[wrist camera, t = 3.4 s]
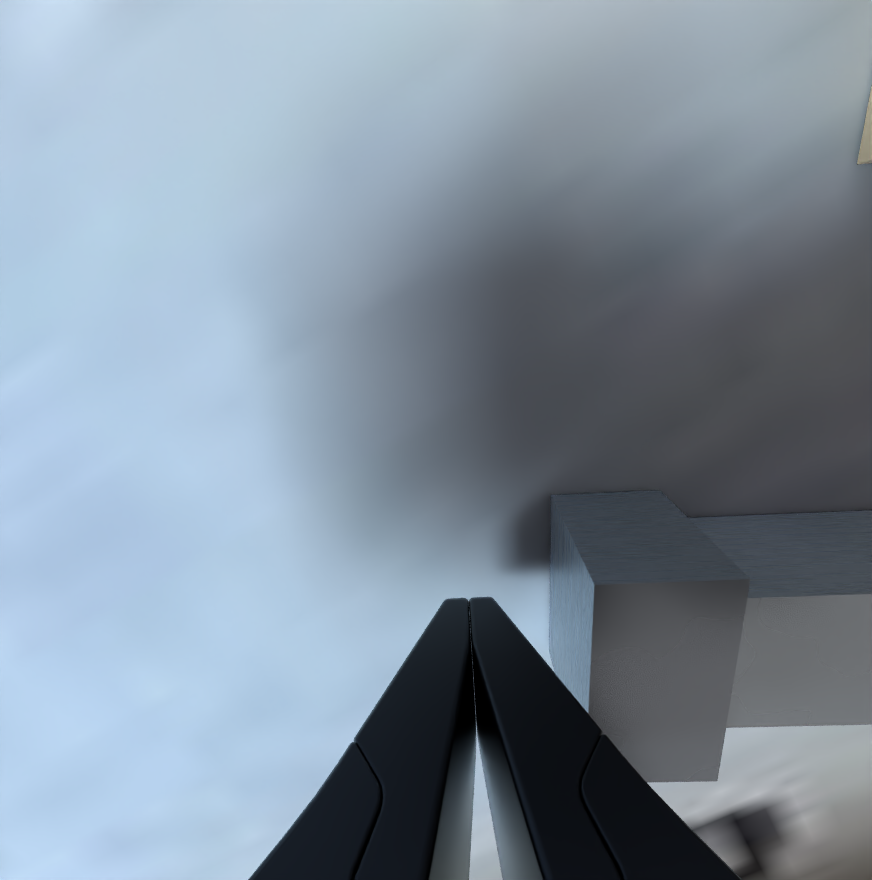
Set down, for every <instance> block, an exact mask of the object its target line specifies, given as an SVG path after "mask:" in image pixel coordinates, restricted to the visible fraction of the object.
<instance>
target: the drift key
mask: <svg viewBox="0 0 872 880" xmlns="http://www.w3.org/2000/svg"><path fill="white" fill-rule="evenodd" d="M549 653H550V656H551V660H552V664H553V667H554V671H555V674H556V675H557V676H558V678H559V679H560V680H561V681H562V682H563V684H564V685H565V686H566V687H567V688H568V690H569V691H570V692H571V693H572V694H573V696H574V697H575V698H576V699H577V701H578V702H579V703H580V704H581V705H582V707H583V708H584V709H585V710H586V711H587V713H588V714H589V715H590V716H591V717H592V719H593V720H594V721H595V722H596V724H597V725H598V726H599V727H600V728H601V730H602V731H603V734H604V735H607V736H608V738H609V739H610V740H611V741H612V743H613V744H614V745H615V746H616V747H617V749H618V750H619V751H620V752H621V754H622V755H623V756H624V757H625V758H626V759H627V761H628V762H629V763H630V764H631V765H632V766H633V768H634V769H635V770H636V771H637V772H638V773H639V774H640V776H641V777H642V778H643V779H644V780H645V781H646V782H694V781H717V779H718V773H719V767H720V761H721V755H722V749H723V743H724V737H725V731H726V728H733V727H778V726H823V725H867V724H872V510H866V511H842V512H818V513H794V514H770V515H747V516H723V517H699V518H688V517H687V516H686V515H685V514H684V513H683V512H682V511H681V510H680V509H679V508H678V507H677V506H676V505H675V504H674V503H673V502H672V501H670V500H669V499H668V498H667V497H666V496H665V495H664V494H663V493H662V492H661V491H660V490H654V491H632V492H609V493H587V494H564V495H551V550H550V621H549Z"/></svg>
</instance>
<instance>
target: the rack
mask: <svg viewBox="0 0 872 880" xmlns="http://www.w3.org/2000/svg"><path fill="white" fill-rule="evenodd" d="M869 163H872V87H871V92H870V97H869V103H868V108H867V113H866V119H865V124H864V129H863V135H862V140H861V145H860V151H859V156H858V161H857V164H869Z"/></svg>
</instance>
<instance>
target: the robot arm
mask: <svg viewBox="0 0 872 880" xmlns="http://www.w3.org/2000/svg"><path fill="white" fill-rule="evenodd" d="M469 611H470V616H469ZM470 628H471V632H470ZM471 644H472V648H471ZM472 661H473V664H472ZM473 677H474V681H473ZM474 693H475V697H474ZM475 709H476V714H475ZM476 723H477V734H478V742H479V748H480V754H481V760H482V766H483V771H484V777H485V782H486V788H487V794H488V799H489V805H490V810H491V816H492V822H493V827H494V833H495V838H496V844H497V850H498V855H499V861H500V866H501V872H502V878H503V880H742V879H741V878H740V877H739V876H738V875H737V874H736V873H735V872H734V871H733V870H732V869H731V868H730V867H729V866H728V865H727V864H726V863H725V862H724V861H723V860H722V859H721V858H720V857H719V856H718V855H717V854H716V853H715V852H714V851H713V850H712V849H711V848H710V847H709V846H708V845H707V844H706V843H705V842H704V841H703V840H702V839H701V838H700V837H699V836H698V835H697V834H696V833H695V832H694V831H693V830H692V829H691V828H690V827H689V826H688V825H687V824H686V823H685V822H684V821H683V820H682V819H681V818H680V817H679V816H678V815H677V814H676V813H675V812H674V811H673V810H672V809H671V808H670V807H669V806H668V805H667V804H666V803H665V802H664V801H663V800H662V799H661V797H660V796H659V795H658V794H657V793H656V792H655V791H654V790H653V789H652V788H651V787H650V786H649V785H648V784H647V782H646V781H645V780H644V779H643V778H642V777H641V776H640V774H639V773H638V772H637V771H636V770H635V769H634V768H633V766H632V765H631V764H630V763H629V762H628V761H627V759H626V758H625V757H624V756H623V755H622V754H621V752H620V751H619V750H618V749H617V747H616V746H615V745H614V744H613V743H612V741H611V740H610V739H609V738H608V736H607V735H604V734H603V731H602V730H601V728H600V727H599V726H598V725H597V724H596V722H595V721H594V720H593V719H592V717H591V716H590V715H589V714H588V713H587V711H586V710H585V709H584V708H583V707H582V705H581V704H580V703H579V702H578V701H577V699H576V698H575V697H574V696H573V694H572V693H571V692H570V691H569V690H568V688H567V687H566V686H565V685H564V684H563V682H562V681H561V680H560V679H559V678H558V676H557V675H556V674H555V673H554V671H553V670H552V669H551V668H550V667H549V665H548V664H547V663H546V662H545V661H544V659H543V658H542V657H541V656H540V655H539V653H538V652H537V651H536V650H535V648H534V647H533V646H532V645H531V644H530V642H529V641H528V640H527V639H526V638H525V636H524V635H523V634H522V633H521V632H520V630H519V629H518V628H517V627H516V625H515V624H514V623H513V622H512V621H511V619H510V618H509V617H508V616H507V615H506V613H505V612H504V611H503V610H502V609H501V607H500V606H499V605H498V604H497V602H496V601H495V600H494V599H493V598H491V597H475V598H471V599H470V600H469V602H468V600H467V599H466V598H453V599H446V600H444V602H443V603H442V605H441V606H440V608H439V609H438V611H437V612H436V614H435V616H434V617H433V619H432V620H431V622H430V623H429V625H428V626H427V628H426V629H425V631H424V632H423V634H422V635H421V637H420V638H419V640H418V642H417V643H416V645H415V646H414V648H413V649H412V651H411V652H410V654H409V655H408V657H407V658H406V660H405V661H404V663H403V664H402V666H401V668H400V669H399V671H398V672H397V674H396V675H395V677H394V678H393V680H392V681H391V683H390V684H389V686H388V687H387V689H386V690H385V692H384V694H383V695H382V697H381V698H380V700H379V701H378V703H377V704H376V706H375V707H374V709H373V710H372V712H371V713H370V715H369V716H368V718H367V720H366V721H365V723H364V724H363V726H362V727H361V729H360V730H359V732H358V733H357V735H356V736H355V738H354V742H352V743H351V744H350V745H349V747H348V748H347V750H346V751H345V753H344V754H343V756H342V757H341V759H340V760H339V762H338V764H337V765H336V766H335V768H334V769H333V771H332V772H331V774H330V775H329V777H328V778H327V779H326V781H325V782H324V784H323V785H322V787H321V788H320V789H319V791H318V792H317V794H316V795H315V797H314V798H313V799H312V800H311V802H310V803H309V804H308V806H307V807H306V808H305V809H304V811H303V812H302V813H301V815H300V816H299V817H298V818H297V820H296V821H295V822H294V824H293V825H292V826H291V827H290V829H289V830H288V831H287V833H286V834H285V835H284V836H283V838H282V839H281V840H280V841H279V843H278V844H277V845H276V846H275V847H274V849H273V850H272V851H271V852H270V854H269V855H268V856H267V857H266V859H265V860H264V861H263V862H262V863H261V865H260V866H259V867H258V868H257V870H256V871H255V872H254V873H253V874H252V876H251V877H250V878H249V879H248V880H469V867H470V849H471V831H472V813H473V795H474V777H475V760H476Z"/></svg>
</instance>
